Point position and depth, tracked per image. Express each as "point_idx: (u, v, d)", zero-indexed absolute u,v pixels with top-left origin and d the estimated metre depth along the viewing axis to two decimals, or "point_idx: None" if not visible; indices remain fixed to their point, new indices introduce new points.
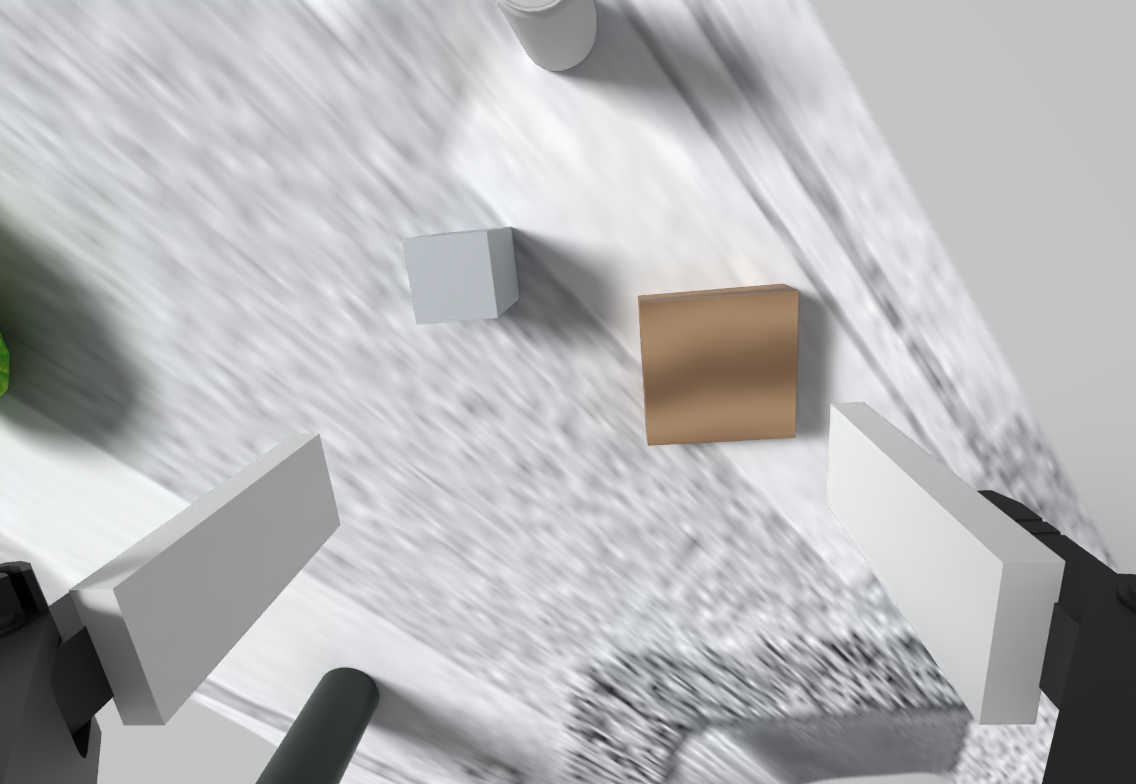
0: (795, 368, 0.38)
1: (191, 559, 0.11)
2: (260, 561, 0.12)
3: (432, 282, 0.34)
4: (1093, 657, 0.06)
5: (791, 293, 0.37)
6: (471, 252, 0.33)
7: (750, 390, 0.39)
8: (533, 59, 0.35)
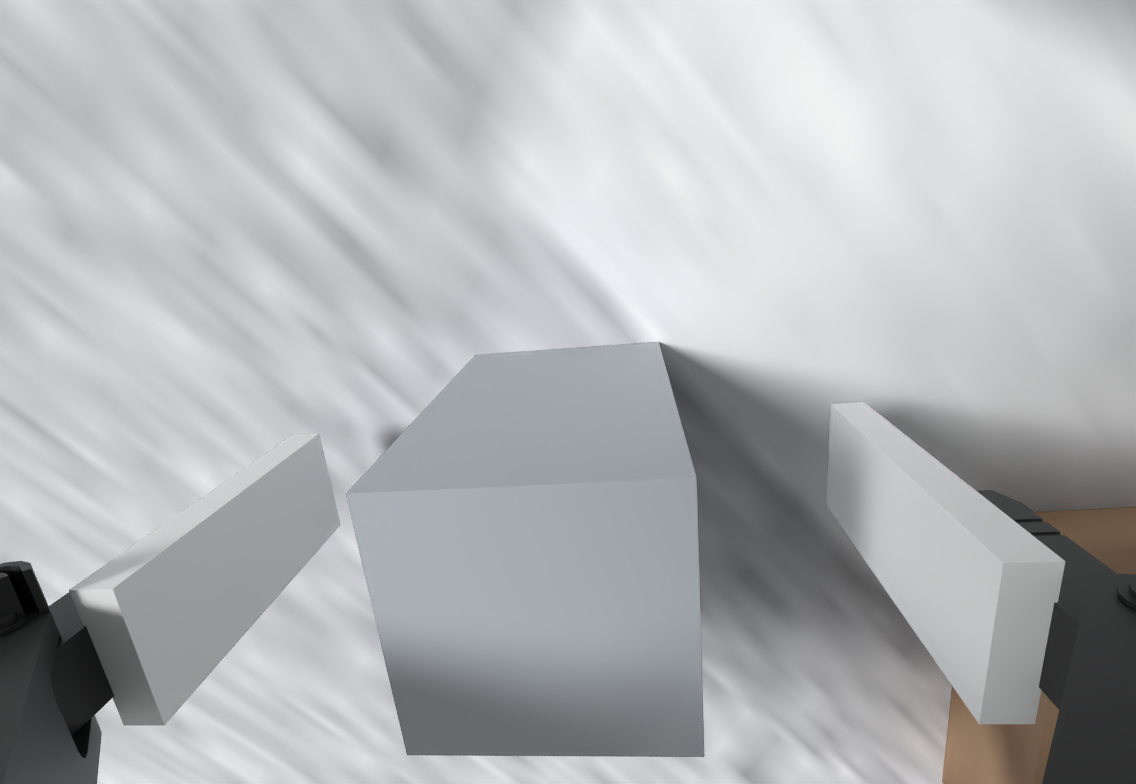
0: None
1: (191, 559, 0.11)
2: (260, 561, 0.12)
3: (466, 638, 0.09)
4: (1093, 657, 0.06)
5: None
6: (623, 549, 0.08)
7: None
8: None
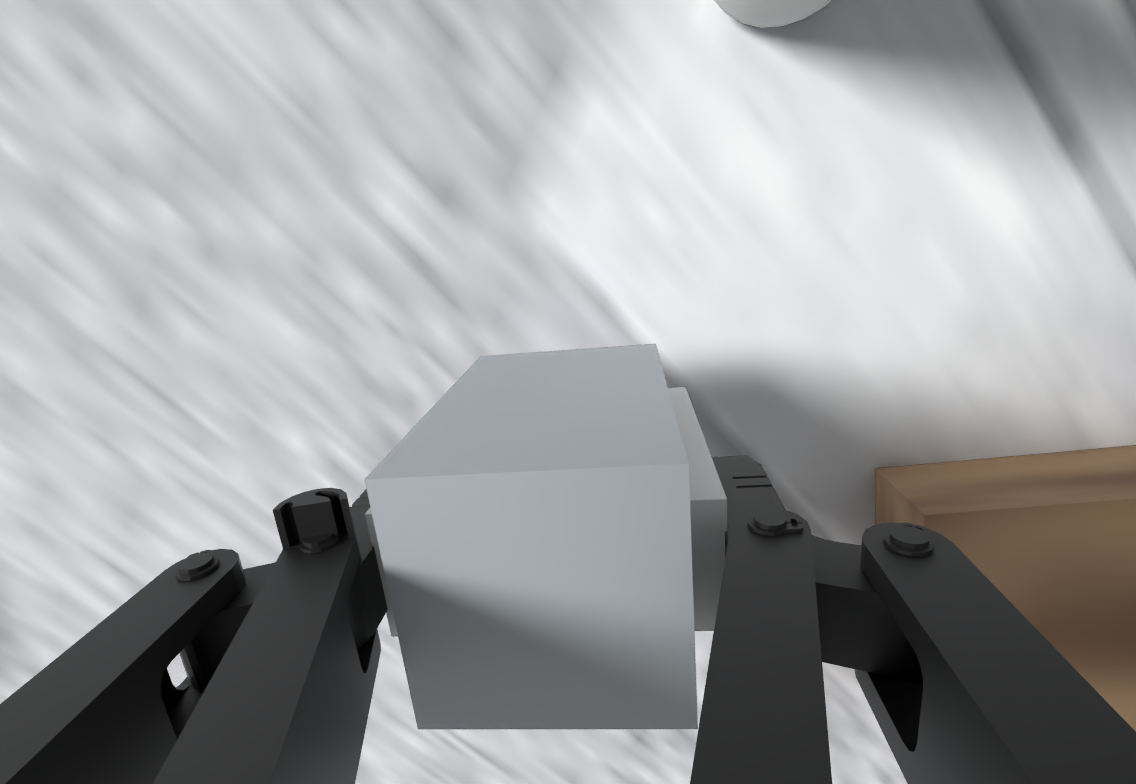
0: None
1: None
2: None
3: (474, 616, 0.10)
4: (735, 577, 0.08)
5: None
6: (621, 531, 0.09)
7: None
8: None
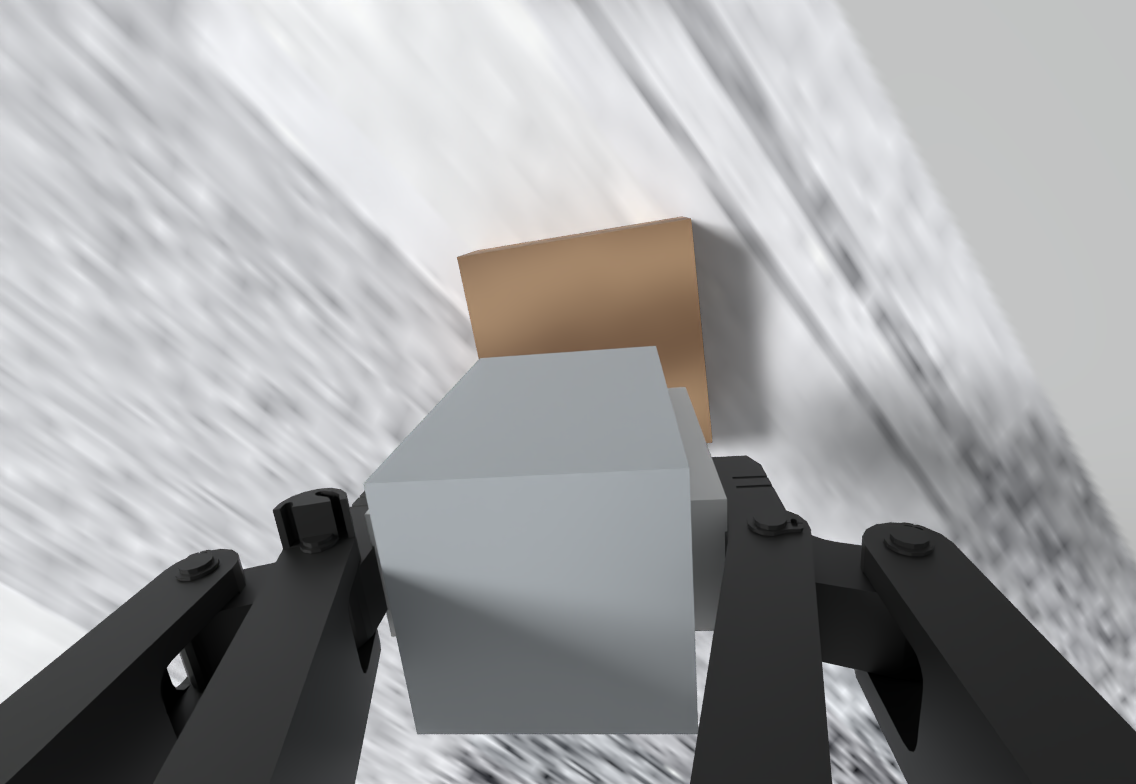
0: (700, 339, 0.25)
1: None
2: None
3: (473, 621, 0.10)
4: (734, 577, 0.08)
5: (680, 223, 0.24)
6: (621, 536, 0.09)
7: None
8: None
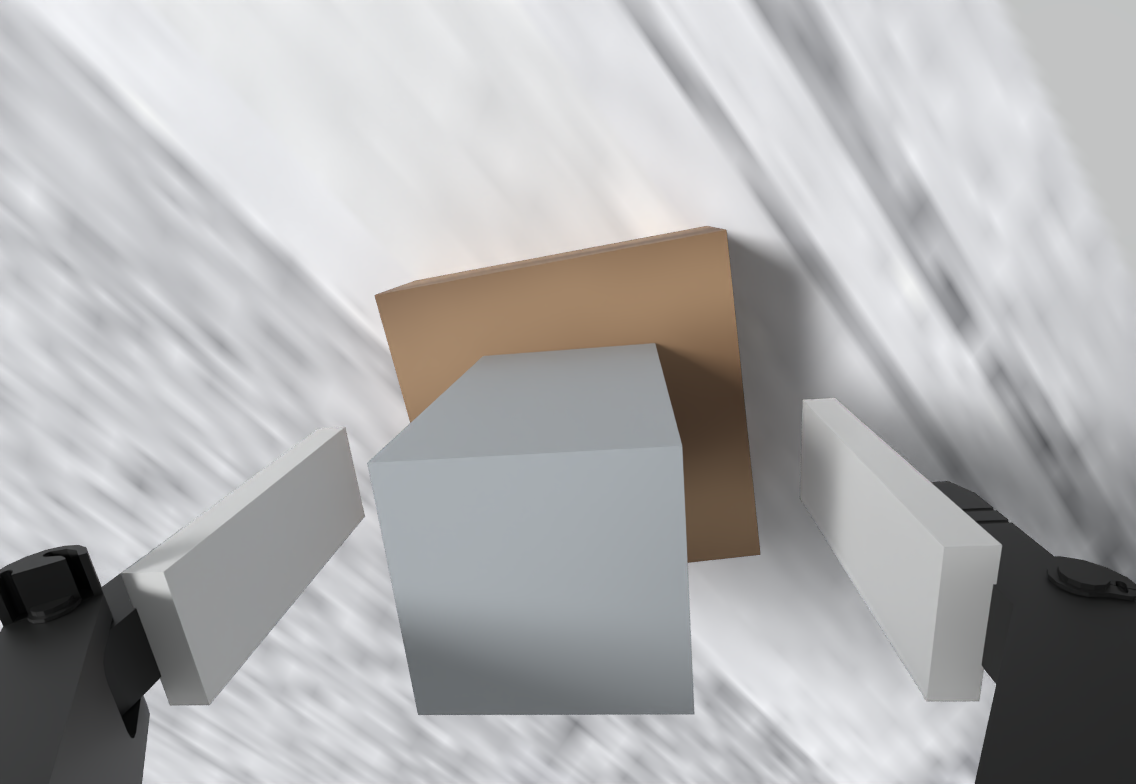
0: (742, 409, 0.17)
1: (232, 545, 0.11)
2: (293, 549, 0.13)
3: (473, 599, 0.10)
4: (1026, 636, 0.07)
5: (710, 237, 0.15)
6: (617, 514, 0.09)
7: None
8: None
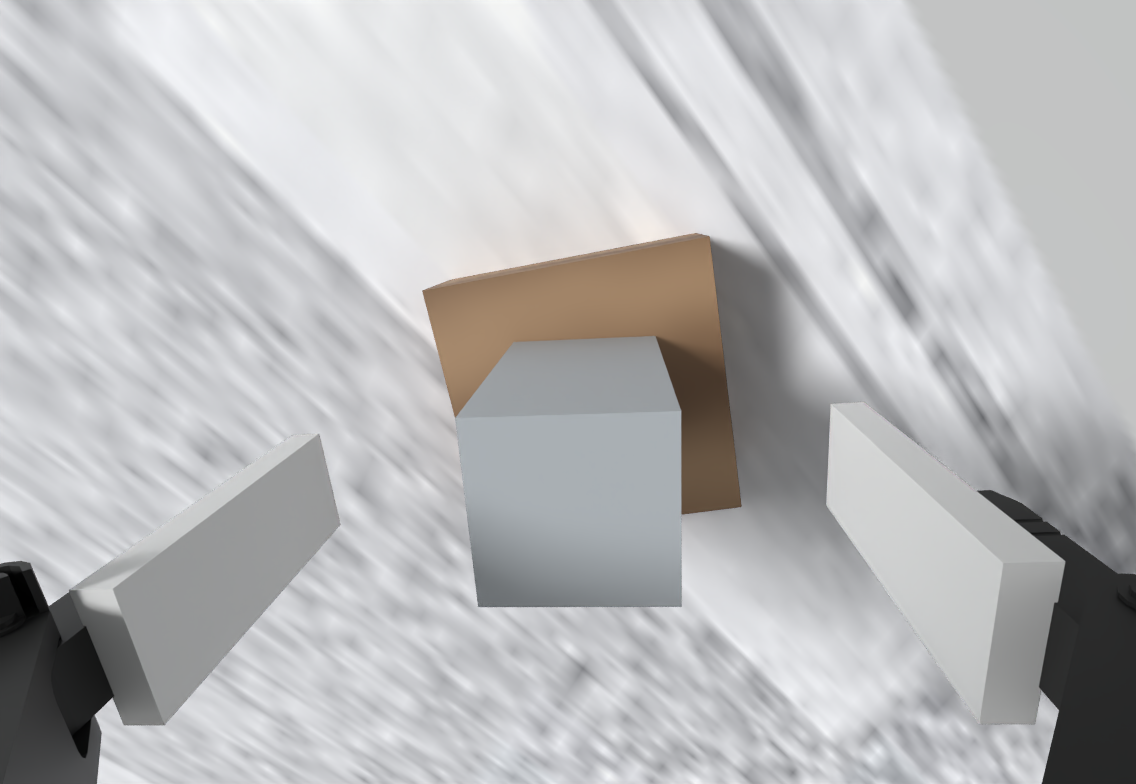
0: (724, 383, 0.20)
1: (191, 559, 0.11)
2: (260, 561, 0.12)
3: (525, 520, 0.14)
4: (1093, 657, 0.06)
5: (696, 242, 0.19)
6: (633, 458, 0.13)
7: None
8: None
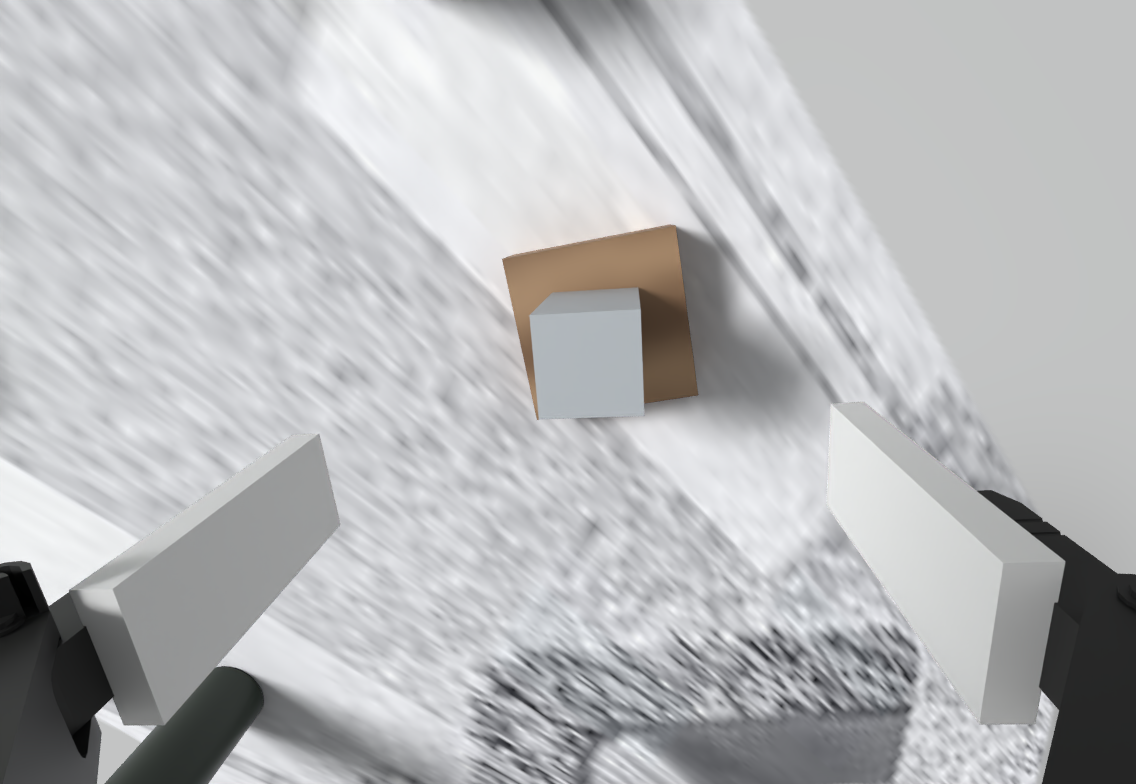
0: (686, 315, 0.34)
1: (191, 559, 0.11)
2: (260, 561, 0.12)
3: (564, 369, 0.27)
4: (1093, 657, 0.06)
5: (668, 229, 0.32)
6: (617, 334, 0.26)
7: None
8: None
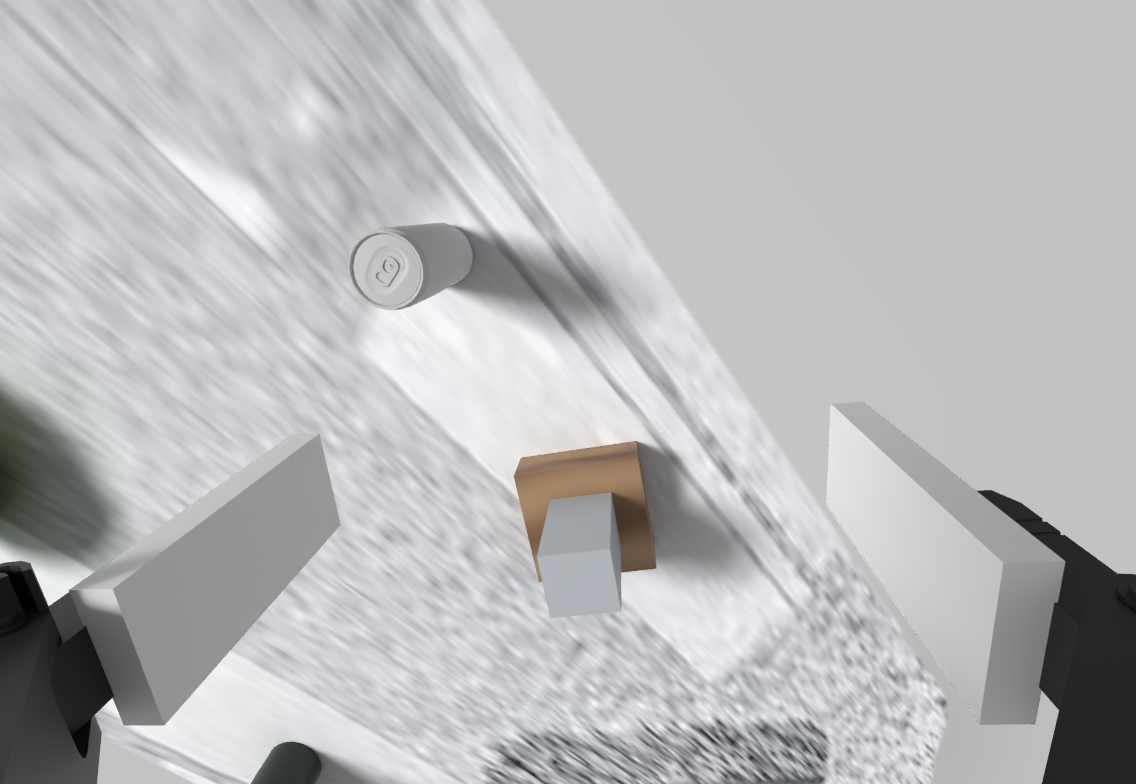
0: (646, 516, 0.47)
1: (191, 559, 0.11)
2: (260, 561, 0.12)
3: (563, 587, 0.40)
4: (1093, 657, 0.06)
5: (632, 461, 0.45)
6: (597, 564, 0.39)
7: None
8: None
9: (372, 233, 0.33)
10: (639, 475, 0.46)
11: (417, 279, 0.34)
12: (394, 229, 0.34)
